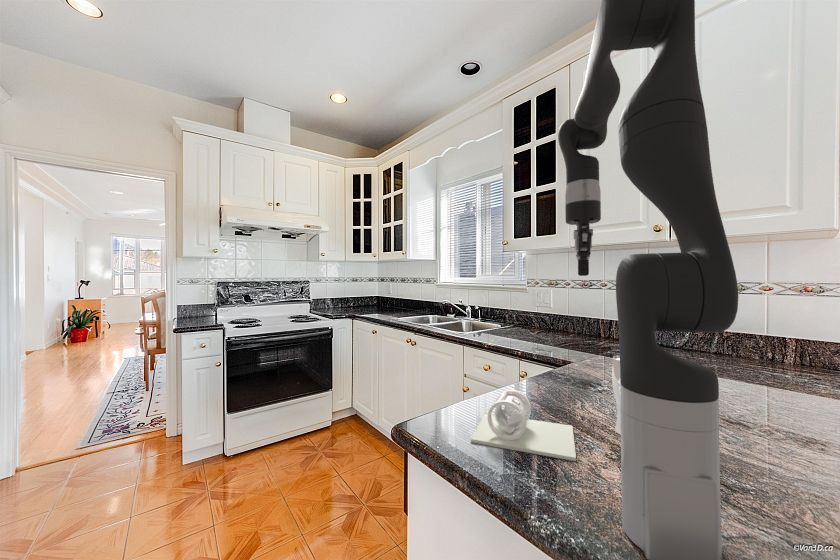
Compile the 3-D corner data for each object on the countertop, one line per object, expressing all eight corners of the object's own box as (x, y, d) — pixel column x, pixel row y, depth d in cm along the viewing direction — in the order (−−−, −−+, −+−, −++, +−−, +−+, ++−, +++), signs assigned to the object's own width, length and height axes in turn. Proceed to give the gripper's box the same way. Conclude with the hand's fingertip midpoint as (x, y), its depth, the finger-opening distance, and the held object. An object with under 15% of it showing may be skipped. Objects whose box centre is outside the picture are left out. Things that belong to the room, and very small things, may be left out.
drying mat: (576, 461, 56) (576, 457, 56) (470, 442, 63) (470, 439, 63) (572, 428, 69) (572, 425, 69) (485, 415, 76) (485, 413, 76)
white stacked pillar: (540, 408, 73) (532, 435, 59) (511, 419, 76) (497, 447, 62) (523, 378, 75) (512, 398, 61) (496, 389, 77) (479, 411, 64)
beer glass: (634, 443, 62) (633, 363, 63) (604, 428, 69) (603, 355, 69) (662, 439, 64) (661, 361, 64) (631, 424, 71) (630, 354, 71)
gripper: (604, 193, 71) (605, 274, 71) (597, 207, 84) (598, 276, 83) (566, 197, 74) (566, 274, 74) (564, 210, 86) (565, 276, 86)
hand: (583, 275), depth 79 cm, fingers closed
